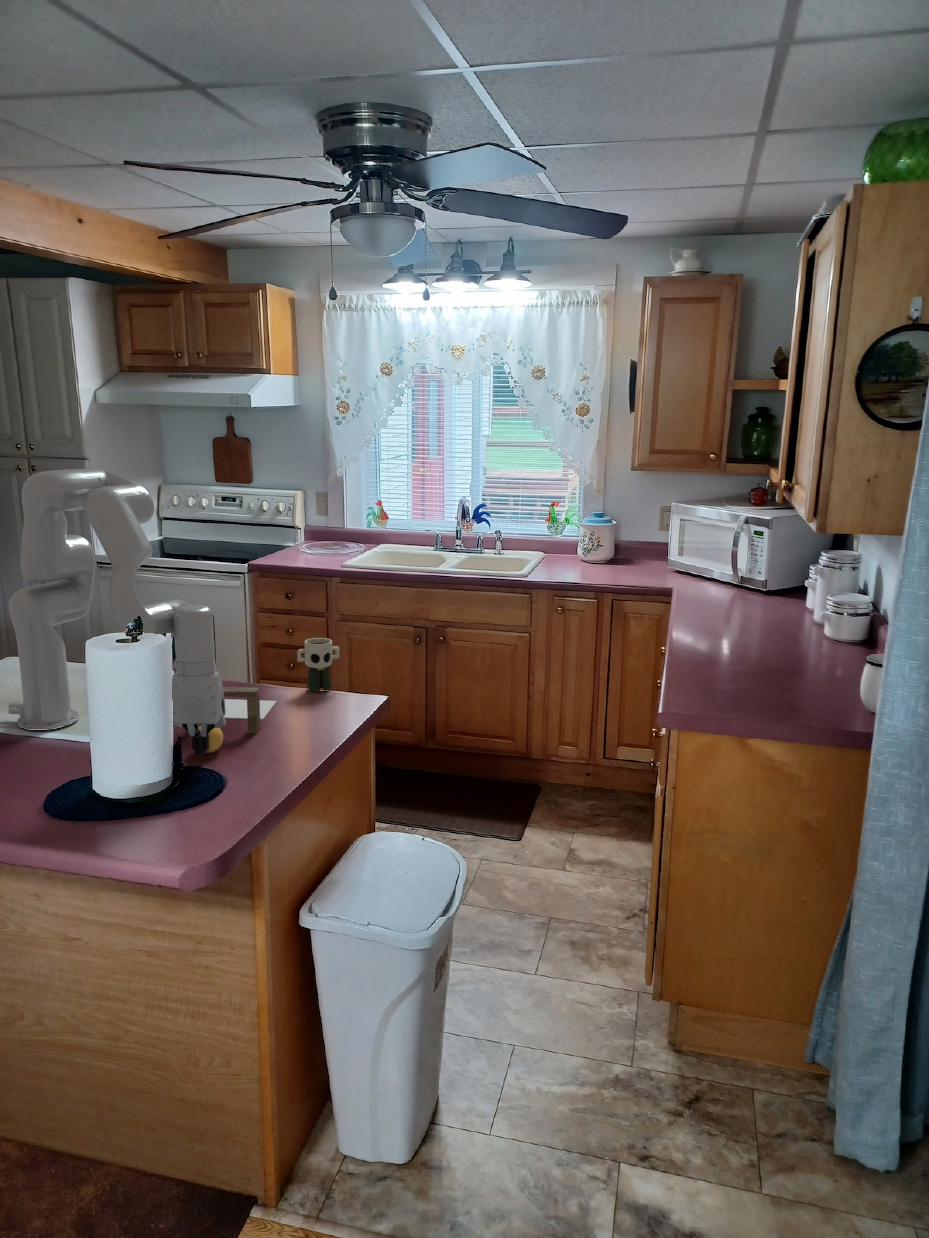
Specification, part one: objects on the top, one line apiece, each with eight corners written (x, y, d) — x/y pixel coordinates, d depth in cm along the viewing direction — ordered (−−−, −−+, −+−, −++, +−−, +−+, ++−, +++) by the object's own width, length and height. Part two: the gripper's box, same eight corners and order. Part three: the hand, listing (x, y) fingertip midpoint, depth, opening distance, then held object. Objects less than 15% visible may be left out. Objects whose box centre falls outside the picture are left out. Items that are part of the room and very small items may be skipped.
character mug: (301, 695, 223) (300, 646, 220) (295, 687, 230) (294, 639, 227) (343, 691, 227) (342, 642, 224) (336, 683, 234) (335, 636, 231)
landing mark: (207, 717, 206) (207, 716, 206) (224, 699, 219) (224, 699, 219) (263, 719, 206) (263, 718, 206) (276, 701, 218) (276, 700, 218)
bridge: (257, 733, 197) (255, 692, 195) (190, 731, 197) (188, 689, 195) (260, 728, 200) (259, 687, 198) (195, 726, 200) (192, 685, 198)
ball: (187, 744, 181) (195, 717, 184) (193, 754, 187) (201, 728, 190) (216, 748, 181) (223, 721, 184) (221, 758, 187) (228, 732, 189)
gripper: (152, 671, 174) (158, 758, 178) (226, 673, 173) (231, 761, 177) (167, 660, 181) (172, 744, 185) (238, 663, 180) (242, 747, 185)
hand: (201, 752), depth 181 cm, fingers closed
